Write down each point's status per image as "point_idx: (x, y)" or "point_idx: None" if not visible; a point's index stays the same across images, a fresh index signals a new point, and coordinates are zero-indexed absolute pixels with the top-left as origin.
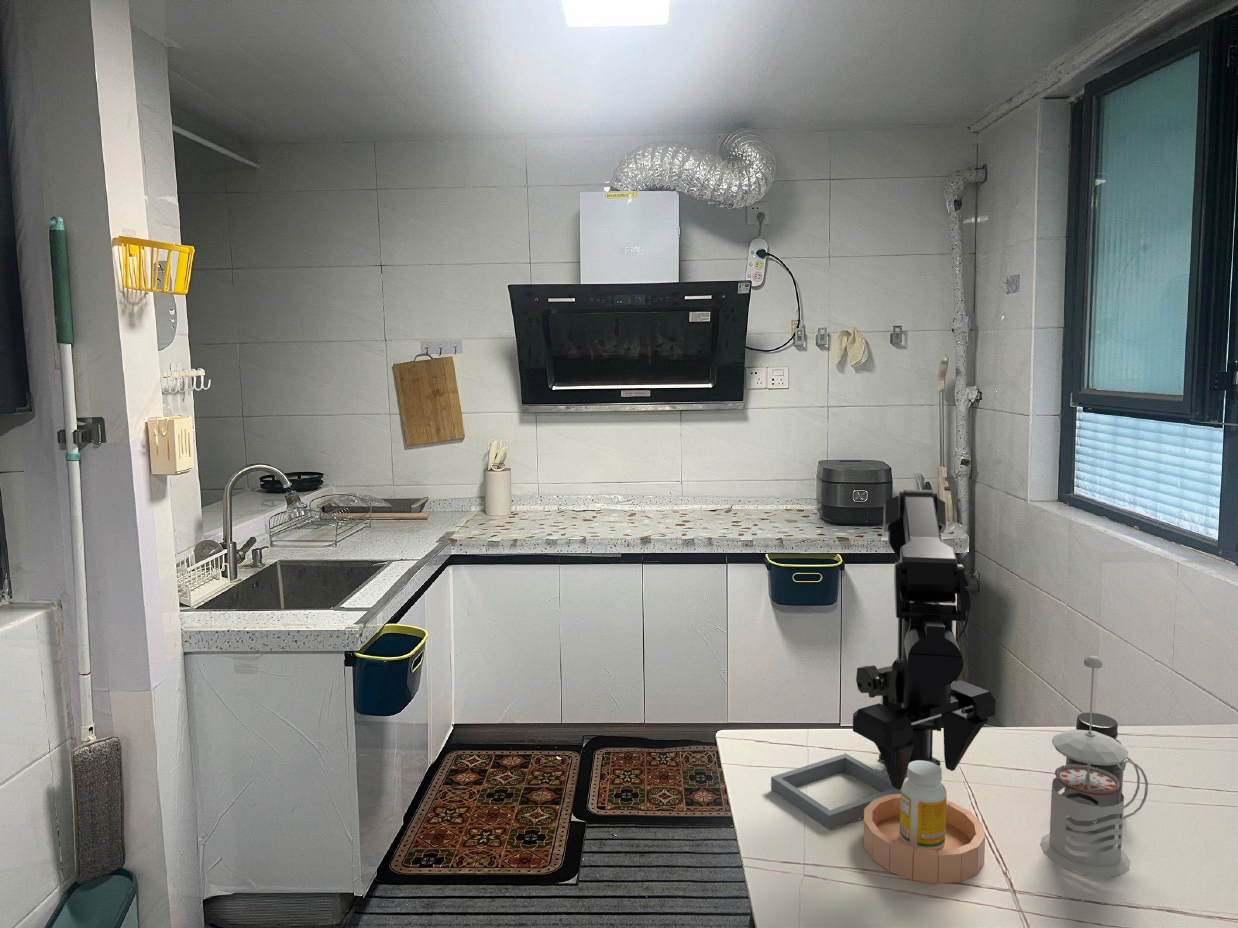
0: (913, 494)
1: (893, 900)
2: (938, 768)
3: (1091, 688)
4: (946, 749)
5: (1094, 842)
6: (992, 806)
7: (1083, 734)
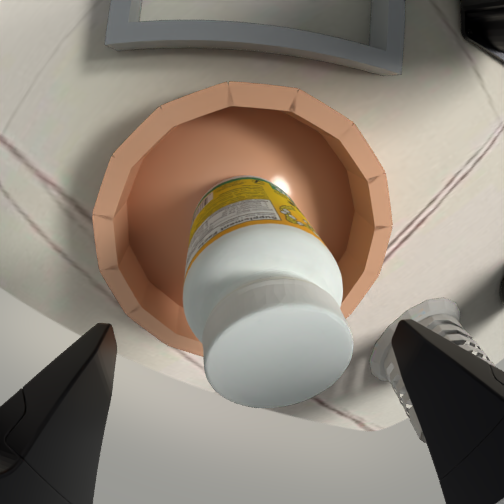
0: None
1: (73, 296)
2: (321, 385)
3: None
4: (439, 365)
5: None
6: (466, 203)
7: None
